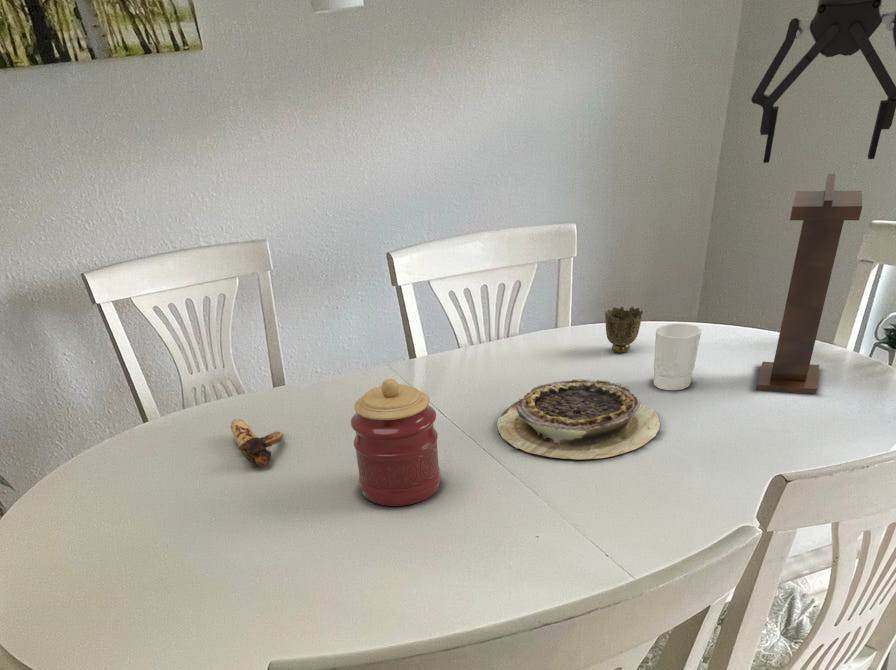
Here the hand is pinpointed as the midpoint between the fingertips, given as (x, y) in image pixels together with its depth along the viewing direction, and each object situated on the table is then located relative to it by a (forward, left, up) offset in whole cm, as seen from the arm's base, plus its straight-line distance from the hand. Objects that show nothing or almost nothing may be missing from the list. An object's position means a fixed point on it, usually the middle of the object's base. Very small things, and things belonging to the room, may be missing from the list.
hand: (817, 159), depth 112 cm
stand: (-3, -16, -38) cm, 41 cm away
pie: (+30, +12, -38) cm, 50 cm away
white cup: (+17, -10, -38) cm, 43 cm away
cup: (+30, -26, -38) cm, 55 cm away
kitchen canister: (+51, +41, -38) cm, 76 cm away
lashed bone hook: (+82, +34, -38) cm, 97 cm away
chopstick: (-3, -19, -8) cm, 20 cm away
